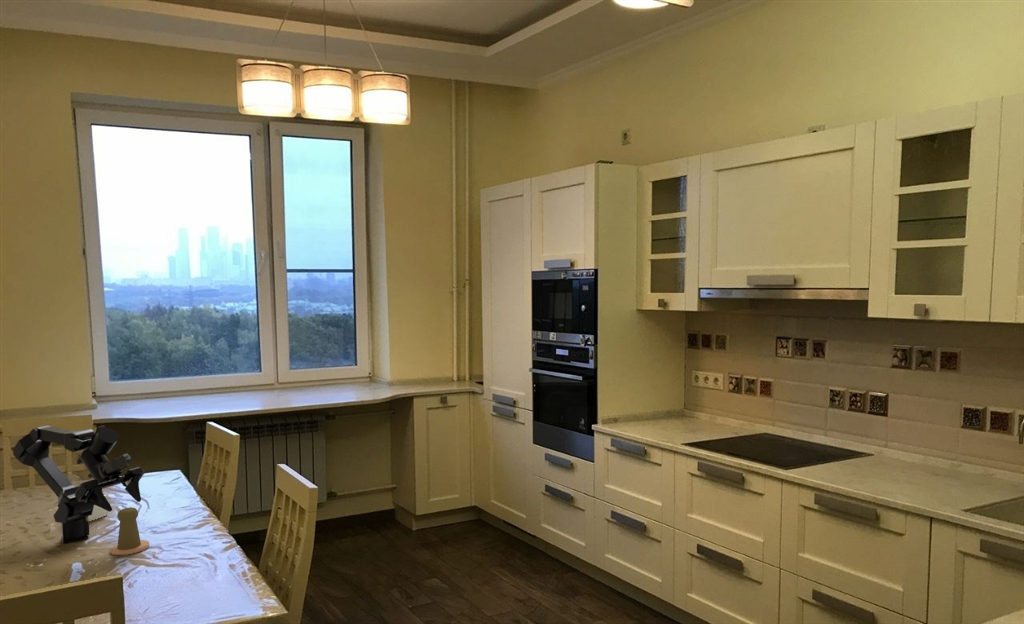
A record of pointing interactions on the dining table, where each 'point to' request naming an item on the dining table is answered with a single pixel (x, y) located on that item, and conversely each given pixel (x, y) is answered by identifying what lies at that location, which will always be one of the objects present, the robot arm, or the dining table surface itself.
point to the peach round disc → (116, 551)
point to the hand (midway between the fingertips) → (125, 505)
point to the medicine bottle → (96, 512)
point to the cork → (128, 529)
